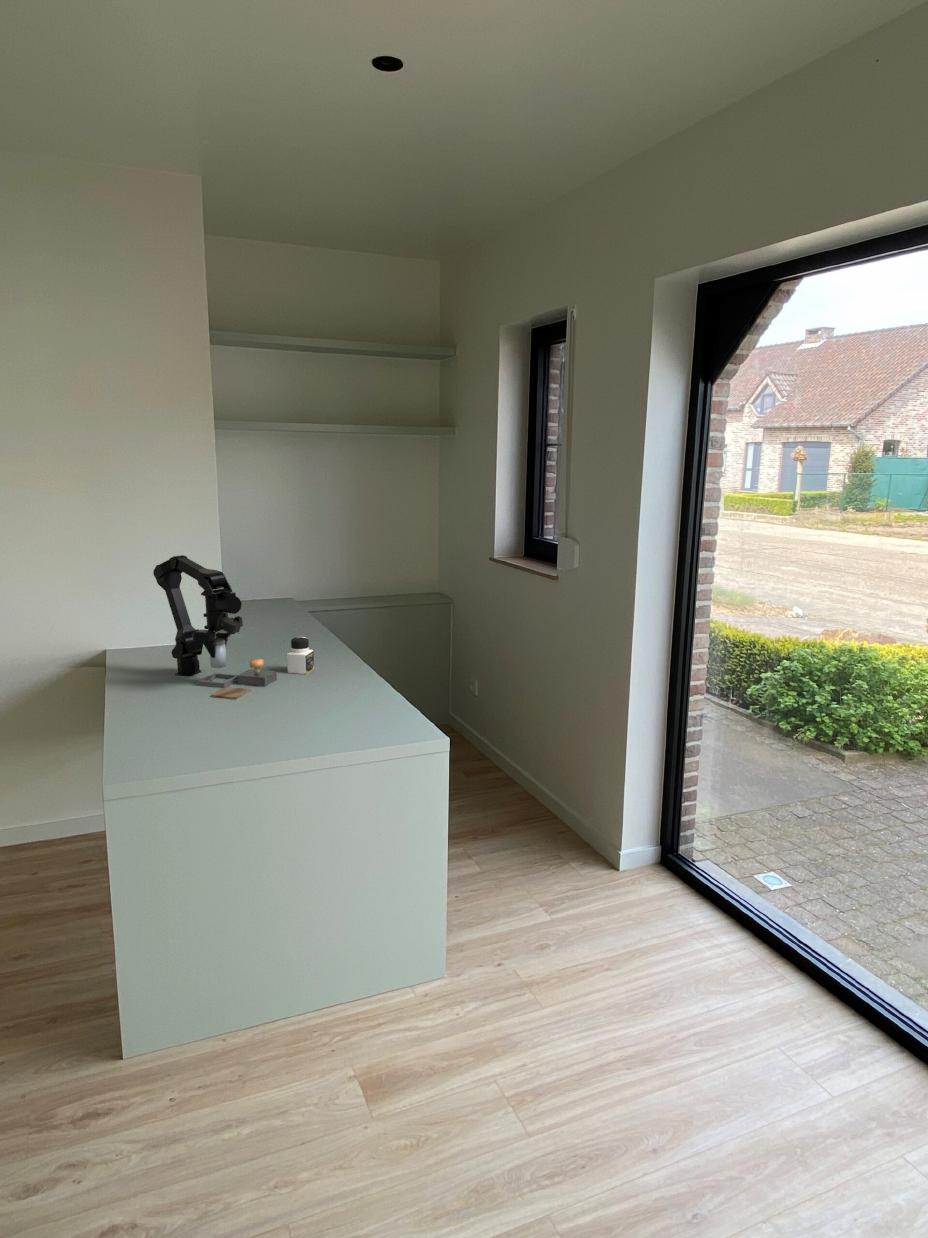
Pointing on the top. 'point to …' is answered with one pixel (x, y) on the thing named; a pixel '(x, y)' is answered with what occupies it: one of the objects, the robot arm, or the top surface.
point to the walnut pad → (230, 693)
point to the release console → (257, 677)
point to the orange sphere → (256, 665)
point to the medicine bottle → (300, 656)
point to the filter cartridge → (219, 655)
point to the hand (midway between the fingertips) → (217, 655)
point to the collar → (207, 682)
